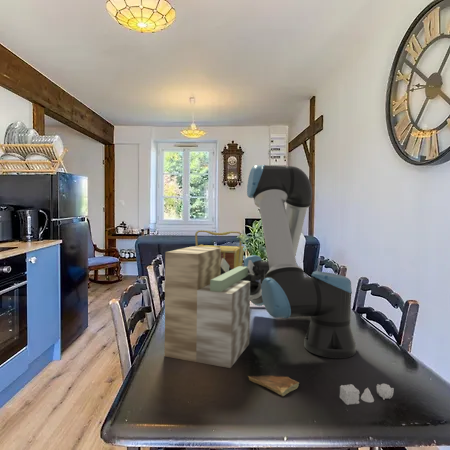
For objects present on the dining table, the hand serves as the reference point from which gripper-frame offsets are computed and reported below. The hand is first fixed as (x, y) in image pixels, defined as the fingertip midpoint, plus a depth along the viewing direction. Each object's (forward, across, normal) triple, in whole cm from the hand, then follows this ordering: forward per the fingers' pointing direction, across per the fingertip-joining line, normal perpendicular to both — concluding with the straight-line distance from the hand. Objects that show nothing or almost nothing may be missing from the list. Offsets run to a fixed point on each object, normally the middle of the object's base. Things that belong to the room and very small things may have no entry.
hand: (235, 263), depth 110 cm
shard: (+8, -18, -35) cm, 40 cm away
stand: (-4, +5, -27) cm, 27 cm away
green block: (+1, 0, -7) cm, 7 cm away
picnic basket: (-89, +40, +22) cm, 100 cm away
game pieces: (+5, -39, -33) cm, 51 cm away
